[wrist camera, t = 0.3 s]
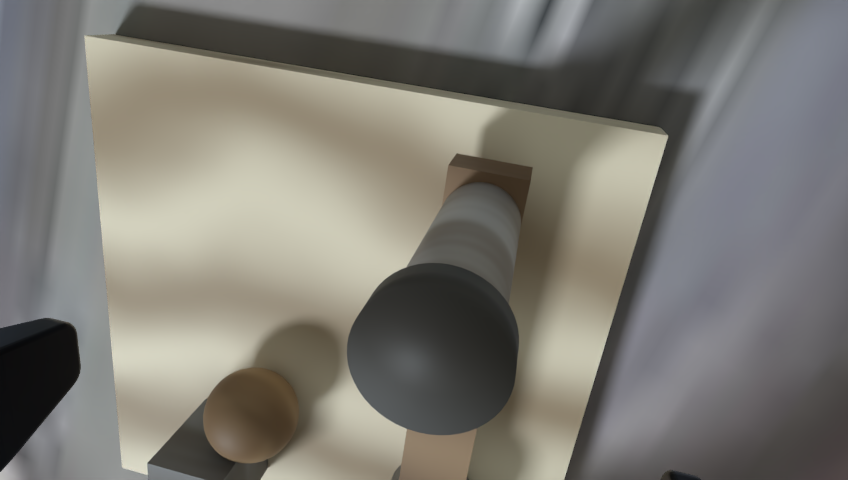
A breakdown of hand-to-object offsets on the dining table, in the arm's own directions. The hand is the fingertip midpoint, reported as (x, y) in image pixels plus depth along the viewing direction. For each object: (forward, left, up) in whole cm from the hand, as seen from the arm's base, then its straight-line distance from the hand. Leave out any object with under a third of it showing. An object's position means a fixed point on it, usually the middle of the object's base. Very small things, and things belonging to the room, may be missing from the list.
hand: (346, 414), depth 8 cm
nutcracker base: (-7, +4, -14) cm, 16 cm away
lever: (-7, -1, -12) cm, 14 cm away
